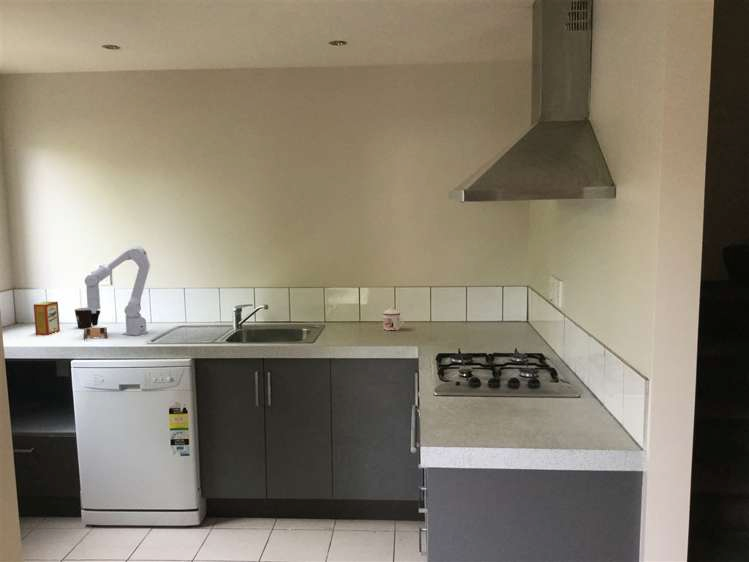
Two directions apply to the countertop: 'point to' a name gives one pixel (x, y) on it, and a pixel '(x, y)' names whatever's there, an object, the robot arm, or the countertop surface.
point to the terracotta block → (95, 332)
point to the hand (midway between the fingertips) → (94, 325)
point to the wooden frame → (102, 331)
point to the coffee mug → (83, 318)
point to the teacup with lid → (392, 319)
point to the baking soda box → (46, 318)
